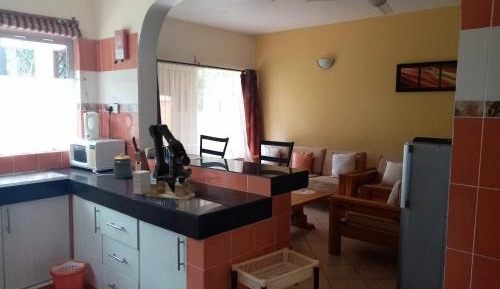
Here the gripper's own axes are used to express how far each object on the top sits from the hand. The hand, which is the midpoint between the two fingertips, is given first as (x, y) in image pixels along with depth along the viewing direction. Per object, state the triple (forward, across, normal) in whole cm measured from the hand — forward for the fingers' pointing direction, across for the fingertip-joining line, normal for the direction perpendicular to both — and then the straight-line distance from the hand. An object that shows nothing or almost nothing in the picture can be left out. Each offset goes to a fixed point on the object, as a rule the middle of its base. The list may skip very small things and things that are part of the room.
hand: (177, 191), depth 216 cm
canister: (+1, +34, +66) cm, 74 cm away
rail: (+1, 0, 0) cm, 1 cm away
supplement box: (+1, -6, +20) cm, 21 cm away
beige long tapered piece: (+1, -8, 0) cm, 8 cm away
